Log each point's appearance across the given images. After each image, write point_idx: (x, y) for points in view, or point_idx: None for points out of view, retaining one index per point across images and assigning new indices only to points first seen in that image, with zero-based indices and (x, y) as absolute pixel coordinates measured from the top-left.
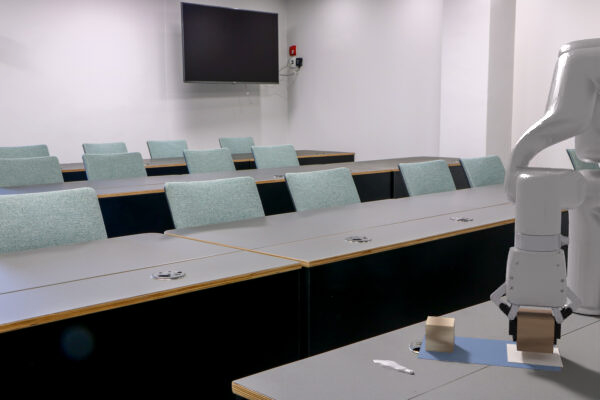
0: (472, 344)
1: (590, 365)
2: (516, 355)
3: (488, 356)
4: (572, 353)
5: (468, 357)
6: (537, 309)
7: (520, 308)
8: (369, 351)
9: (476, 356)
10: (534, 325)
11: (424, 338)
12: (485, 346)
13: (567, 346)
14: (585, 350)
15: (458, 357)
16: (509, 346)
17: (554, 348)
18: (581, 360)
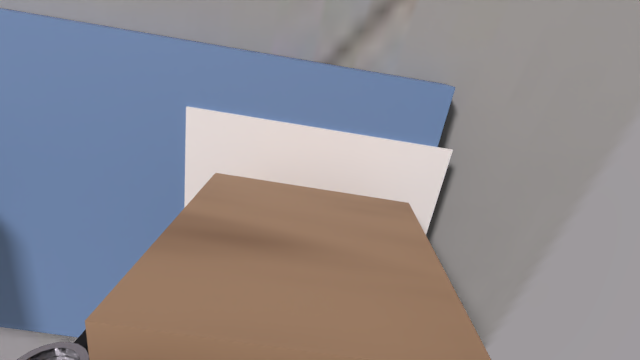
0: (4, 124)
1: (526, 259)
2: None
3: (102, 270)
4: (519, 129)
5: (20, 285)
6: (340, 358)
7: (135, 332)
8: None
9: (51, 273)
10: None
11: None
12: (75, 150)
13: (546, 20)
14: (613, 79)
15: None
16: (198, 149)
17: (431, 159)
18: (517, 211)
